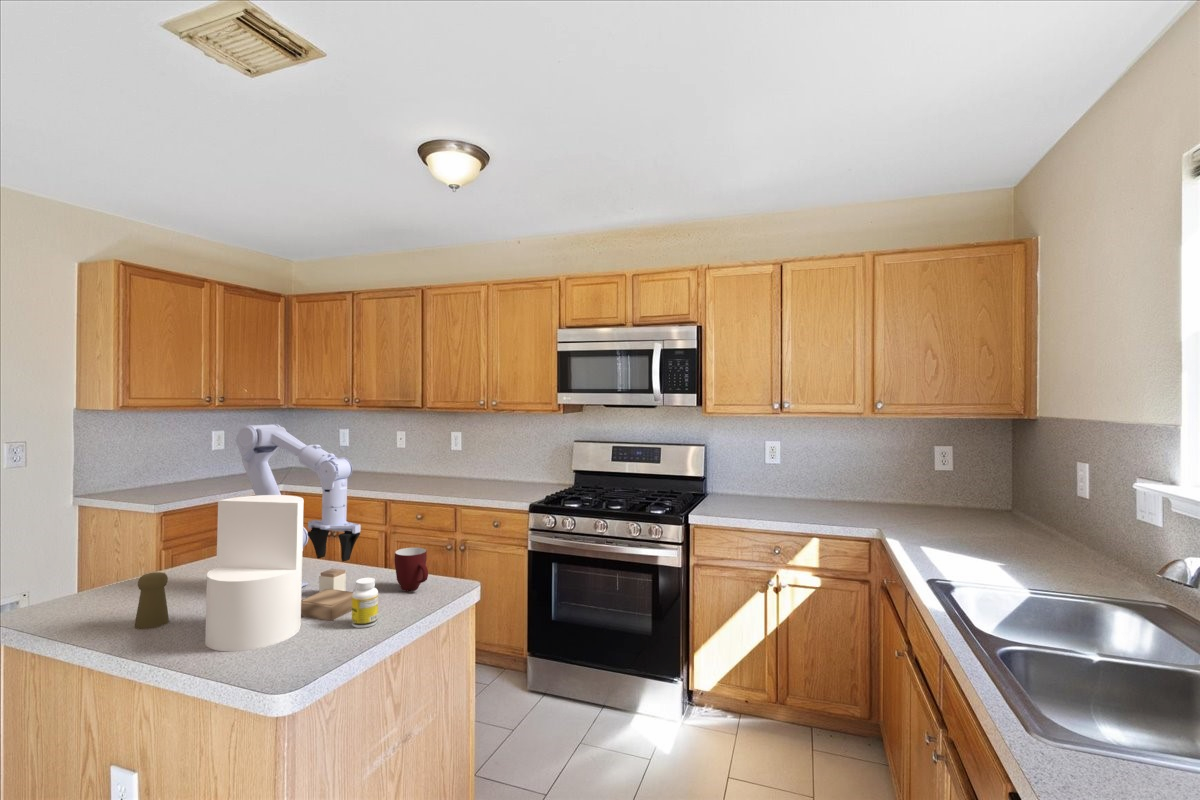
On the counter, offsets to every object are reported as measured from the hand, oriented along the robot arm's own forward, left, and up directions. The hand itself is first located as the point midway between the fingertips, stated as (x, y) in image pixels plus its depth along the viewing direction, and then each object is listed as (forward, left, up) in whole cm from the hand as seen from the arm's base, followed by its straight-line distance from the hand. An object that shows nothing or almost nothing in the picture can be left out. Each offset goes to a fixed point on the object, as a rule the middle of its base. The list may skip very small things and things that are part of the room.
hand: (333, 558), depth 145 cm
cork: (-23, -28, -9) cm, 37 cm away
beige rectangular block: (0, 0, -9) cm, 9 cm away
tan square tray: (+7, -9, -9) cm, 15 cm away
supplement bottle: (+20, -13, -9) cm, 26 cm away
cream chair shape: (+2, -25, -9) cm, 27 cm away
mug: (+17, +10, -9) cm, 22 cm away
